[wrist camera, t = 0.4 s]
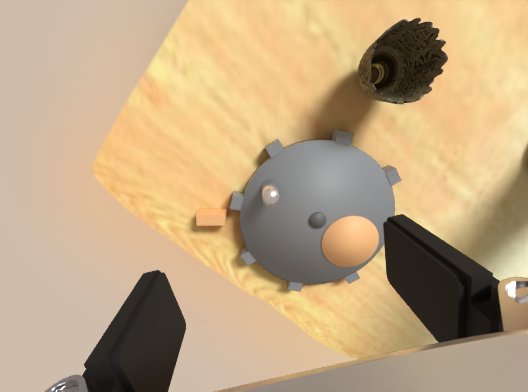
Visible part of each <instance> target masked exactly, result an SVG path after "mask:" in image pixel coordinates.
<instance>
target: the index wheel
mask: <svg viewBox="0 0 528 392" xmlns="http://www.w3.org/2000/svg"><path fill="white" fill-rule="evenodd" d="M353 135H354V134H352V133H348V132H344V131H340V130H336V129H334V131H333V134H332V138H331V140H327V139H314V140H306V141H301V142H297V143H294V144H292V145H289V146H286V147H284V148H283V146H282V145H281V143H280V141H279V140H278V139H277V140H275V141H273V142H272V143H270V144H269V145H267V146H265V148H266V150H267V152H268V154H269V155H270V157H268V158H267V159H266V160H265V161H264V162H263V163H262V164H261V165H260V166H259V167H258V168H257V170H256V171H255V172H254V173H253V175H252V177H251V178H250V180H249V182H248V184H247V186H246V188H245V191H244V193H242V192H237V191H234V192H233V195H232V200H231V205H230V209H234V210H239V211H240V228H241V234H242V237H243V241H244V243H245V245H246V247H244V248H242V249H241V258H242V259H243V260H244V261H245V263H246V264H247V265H250V264H252V263H254V262H257V263H258V264H259V265H260V266H261V267H263V268H264V269H265V270H266V271H268V272H269V273H271V274H272V275H274V276H276V277H278V278H280V279H283V280H286V281H287V286H288V290H294V291H299V292H300V291H301V288H302V285H303V284H324V283H329V282H333V281H336V280H339V279H342V278H345V279H346V281H347V282H348V284H350V283H352V282H354V281H356V280H358V279H360V277H359V275H358V274H357V272H356V271H358V270H359V269H361V268H362V267H364V266H365V265H366V264H367V263H368V262H369V261H371V260H372V259H373V258H374V257H375V255H376V254H377V253H378V252H379V251H380V249H381V248H382V246H383V245H384V230H383V223H384V222H386V221H387V218H388V217H392V216H394V213H395V200H394V194H393V189H392V185H394V184H396V183H398V182H399V181H401V178H400V176H399V174H398V172H397V170H396V168H394V167H392V166H389V165H388V166H386V167H384V168H381V166H380V165H379V164H378V163H377V162H376V161H375V160H374V159H373V158H372V157H371V156H369V155H368V154H366V153H365V152H363V151H362V150H360V149H358V148H356V147H353V146H351V145H350V144H351V141H352V138H353Z"/></svg>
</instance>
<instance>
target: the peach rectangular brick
mask: <svg viewBox="0 0 528 392" xmlns="http://www.w3.org/2000/svg"><path fill="white" fill-rule="evenodd" d="M226 222H227V209H199V210H198V212H197V214H196V223H197V226H225V225H226Z"/></svg>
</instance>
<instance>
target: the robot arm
mask: <svg viewBox="0 0 528 392" xmlns="http://www.w3.org/2000/svg"><path fill="white" fill-rule="evenodd" d="M383 230H384V244H385V258H386V272H387V278H388V281H389V283H390V284H391V285H392V287H393V288H394V289H395V290H396V292H397V293H398V294H399V295H400V296H401V298H402V299H403V300H404V301H405V302H406V304H407V305H408V306H409V307H410V308H411V310H412V311H413V312H414V313H415V315H416V316H417V317H418V318H419V319H420V321H421V322H422V323H423V324H424V325H425V327H426V328H427V329H428V330H429V331H430V333H431V334H432V335H433V336H434V337H435V339H436V340H437V341H438V342H439V343H435V344H430V345H425V346H420V347H415V348H411V349H406V350H401V351H397V352H392V353H387V354H383V355H378V356H373V357H369V358H364V359H359V360H355V361H351V362H346V363H341V364H336V365H332V366H327V367H322V368H318V369H313V370H309V371H305V372H300V373H295V374H291V375H286V376H282V377H277V378H272V379H268V380H264V381H259V382H255V383H250V384H245V385H241V386H237V387H232V388H228V389H223V390H219V391H214V392H528V278H523V277H513V278H507V279H504V280H502V281H501V282H500V281H499V280H497V279H496V278H494V277H493V273H492V272H490V271H489V270H487V269H486V268H484V267H482V266H481V265H479V264H478V263H476V262H475V261H473V260H472V259H470V258H469V257H467V256H466V255H464V254H463V253H461V252H460V251H458V250H457V249H455V248H454V247H452V246H451V245H449V244H448V243H446V242H444V241H443V240H441V239H440V238H438V237H437V236H435V235H434V234H432V233H431V232H429V231H428V230H426V229H425V228H423V227H422V226H420V225H419V224H417V223H416V222H414V221H413V220H411V219H410V218H408V217H406V216H405V215H403V214H401V215H396V216H392V217H388V218H387V221H386V222H384V223H383ZM185 330H186V322H185V319H184V317H183V315H182V312H181V310H180V307H179V305H178V303H177V301H176V298H175V296H174V293H173V291H172V289H171V286H170V284H169V282H168V279H167V277H166V275H165V273H161V272H160V271H159V270H156V271H152V272H148V273H144V274H143V275H142V276H141V278H140V280H139V281H138V282H137V284H136V285H135V287H134V289H133V290H132V292H131V293H130V295H129V296H128V298H127V299H126V301H125V302H124V304H123V305H122V307H121V309H120V310H119V312H118V313H117V315H116V316H115V318H114V319H113V321H112V322H111V324H110V325H109V327H108V328H107V330H106V331H105V333H104V335H103V336H102V338H101V339H100V341H99V342H98V344H97V345H96V347H95V348H94V350H93V351H92V353H91V355H90V356H89V357H88V359H87V361H86V362H85V364H84V366H85V368H86V370H85V372H84V374H83V375H82V376H81V375H72V376H69V377H67V378H64V379H62V380H60V381H59V382H57V383H55V384H54V385H53V386H51V387H50V388H49V389H47V390H46V391H45V392H168V389H169V386H170V382H171V379H172V375H173V372H174V368H175V365H176V362H177V358H178V354H179V351H180V348H181V344H182V341H183V337H184V334H185Z"/></svg>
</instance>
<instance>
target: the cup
mask: <svg viewBox="0 0 528 392" xmlns="http://www.w3.org/2000/svg"><path fill="white" fill-rule="evenodd" d="M420 21H421V18H416V19H414V20H412V21H407V20H406V19H404V20H401V21H399V22H398V23H396V24H395V25H393V26H392V27H391V28H389V29H388V30H386V31H385V32H384V33H383V34H382V35H381V36H380V37H379V38H378V39H377V40H376V41H375V42H374V43H373V44H372V45H371V46H370V47H369V48H368V49H367V51H366V52H365V53H364V55H363V57H362V59H361V61H360V64H359V67H358V81H359V85H360V87H361V89H362V90H363V92H364V93H365V94H366V95H368V96H369V97H371V98H373V99H375V100H378V101H383V102H389V103H395V104H404V103H411V102H415V101H418V100H420V99H421V98H422V97H423V95H424V94H427V93H429V92H430V91H431V90H432V88H431V87H429V85H430V84H431V83H432V82H433V81H434V78H435V77H436V76H437V75H440V74H442V72H443V69H441V67H442V66H443V65H444V64H445V63H446V62H447V60H448V57H447V55H446V53H444V52H443V51H442V50H441V48H442V47H443V46H444V44H445V43H446V41H444V40H435V39H436V38H437V37H438V33H439V29H438V28H432V24H433V23H432V22H423V23H420V24H418V23H419V22H420ZM371 68H376V69H378V71H379V76H378V78H377V80H375V81H373V82H372V73H371Z"/></svg>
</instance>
